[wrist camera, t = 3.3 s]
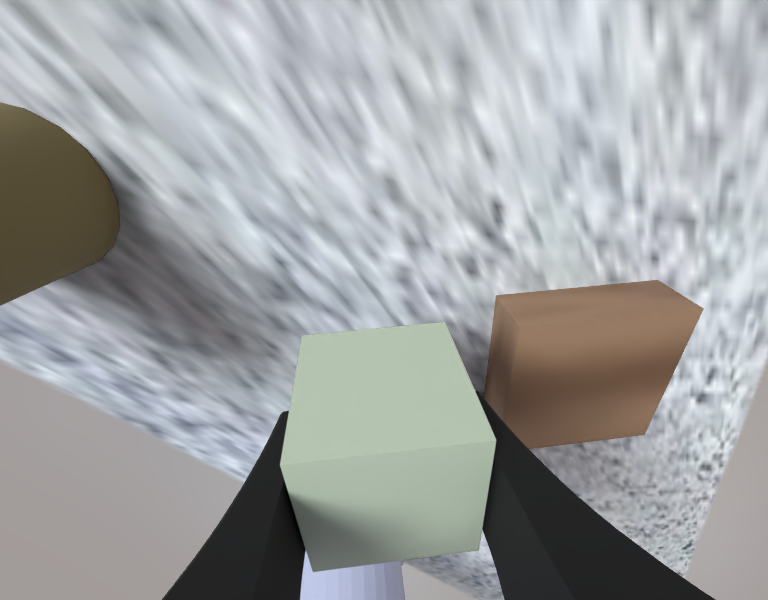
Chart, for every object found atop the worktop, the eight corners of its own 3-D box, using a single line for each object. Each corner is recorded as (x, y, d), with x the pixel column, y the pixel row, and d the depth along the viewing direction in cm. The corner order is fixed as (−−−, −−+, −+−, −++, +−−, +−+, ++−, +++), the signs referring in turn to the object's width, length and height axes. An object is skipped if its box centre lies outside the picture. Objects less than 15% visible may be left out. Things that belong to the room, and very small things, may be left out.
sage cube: (440, 420, 14) (478, 550, 10) (321, 433, 14) (312, 571, 10) (445, 321, 12) (496, 440, 8) (301, 335, 11) (280, 465, 7)
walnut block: (609, 394, 22) (644, 434, 20) (480, 408, 22) (498, 452, 19) (652, 276, 18) (703, 308, 15) (493, 291, 18) (519, 327, 15)
